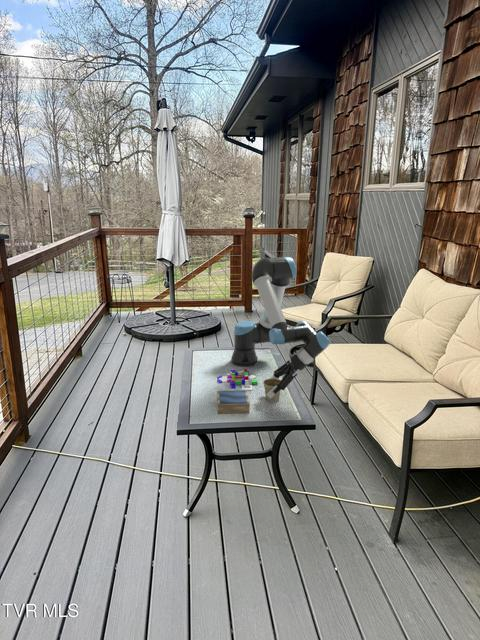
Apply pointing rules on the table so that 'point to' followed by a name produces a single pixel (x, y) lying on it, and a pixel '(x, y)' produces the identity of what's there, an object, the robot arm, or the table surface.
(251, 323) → the robot arm
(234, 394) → the plinth
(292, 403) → the table surface
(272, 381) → the flower pot
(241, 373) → the building block set
